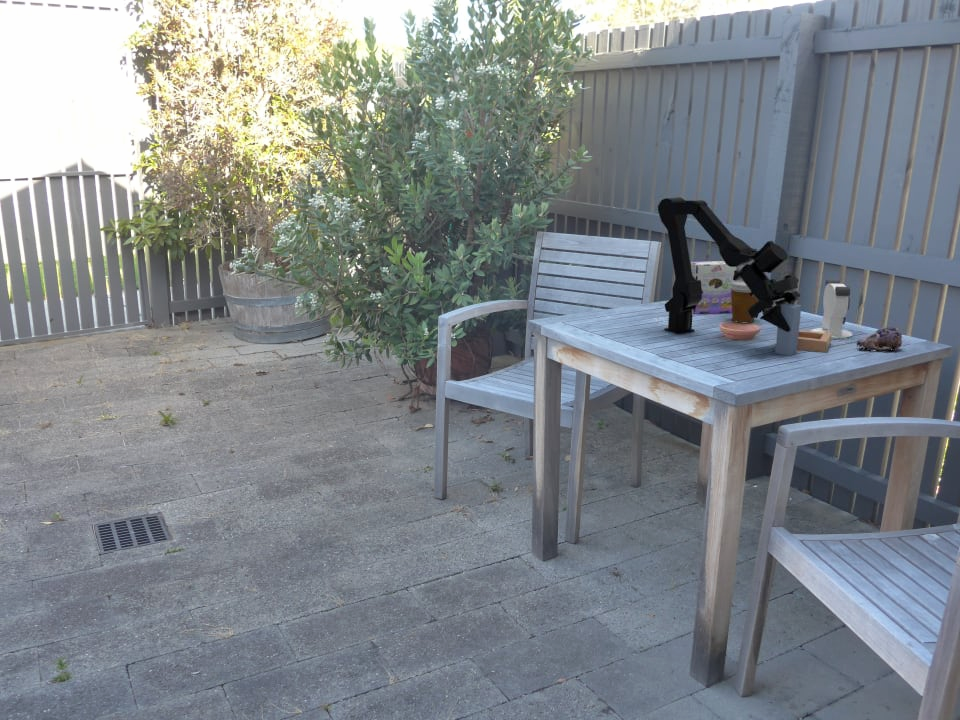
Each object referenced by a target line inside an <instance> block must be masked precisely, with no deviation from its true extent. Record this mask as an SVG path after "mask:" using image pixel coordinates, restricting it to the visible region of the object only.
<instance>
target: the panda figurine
mask: <svg viewBox="0 0 960 720" xmlns="http://www.w3.org/2000/svg"><path fill="white" fill-rule="evenodd" d="M824 286H825V287H824V293H823V299H822V305H823V306H822V307H823V317H822V323H821V327H817V328H813V329H811V330H810V331H814V332H823V333H832V339H839V338H840V339H848V338H847V337H849V338H851V337H850V336H852V337H853V332H852V331H851V332H850V331H848V330H845V329H843V326H844V325H845V323H846V318H847V317H846V314H847V312H848V311H849V310H850V302H851V301H850V295H851V287H850V286H846V285H845V284H844V283H840V280H826V281H825V285H824ZM840 339H839V340H840Z"/></svg>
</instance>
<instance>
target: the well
mask: <svg viewBox="0 0 960 720" xmlns="http://www.w3.org/2000/svg"><path fill="white" fill-rule="evenodd" d="M832 339H833V338H832V333H823V332H814V331H811V330H804V329H803V330H802V329H799V334H798V343H797V350H800V351H809V352H818V353H827V351H828V349H829V348H830V346H831V344H832Z"/></svg>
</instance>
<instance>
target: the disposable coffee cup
mask: <svg viewBox="0 0 960 720" xmlns="http://www.w3.org/2000/svg"><path fill="white" fill-rule="evenodd" d="M730 290H731V300H732V313H731V315H732V316H731V317H732V318H731V319H732V322H734V321H737V322H747V323H746V324H751V323H754V320H755V319H751V318H750V316H749V315H748V309H749V308H750V307H751V306H752V305H754V304H755V303H756V302H757V301H758V300H757V299H756V298H755V296H752V297H751V296H750V295H749V293H750V292H751V291H750V289H749V288H748V287H747V285H746V284H745V283H744V281H743V280H736V281H734V282H732V283H731V286H730ZM737 322H736V323H737Z"/></svg>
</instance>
